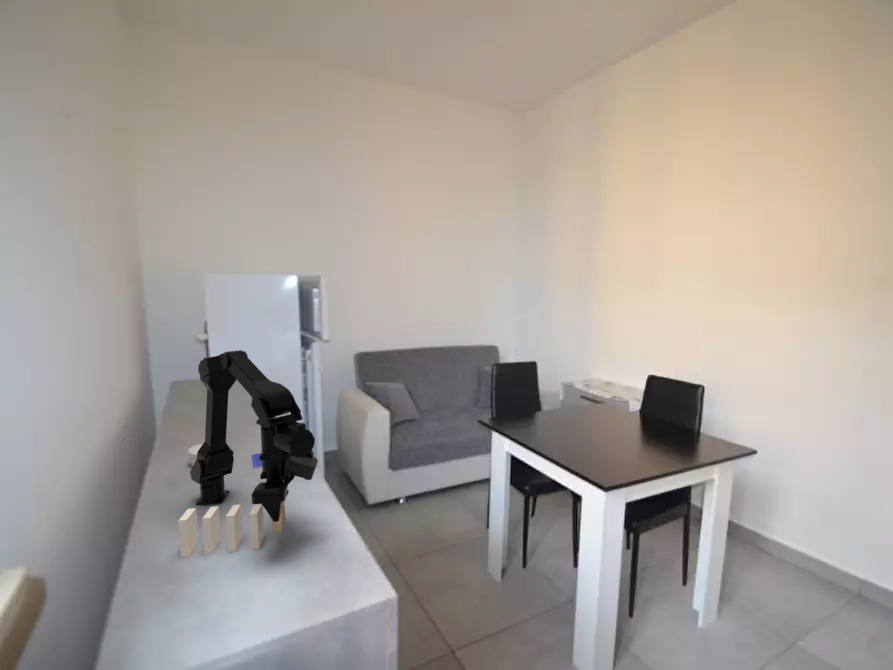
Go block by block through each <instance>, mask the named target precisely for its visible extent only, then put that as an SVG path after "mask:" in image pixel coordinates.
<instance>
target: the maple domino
mask: <svg viewBox="0 0 893 670" xmlns="http://www.w3.org/2000/svg"><path fill="white" fill-rule="evenodd" d="M285 502H286V500H285V501H283V502H282V503H281V510H280V516H279V521H277V522H273V521H272V532H273V533H281V532H282V529H283V526H284V524H285V521H286V506H285V505H286V504H285Z"/></svg>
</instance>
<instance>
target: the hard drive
mask: <svg viewBox="0 0 893 670" xmlns="http://www.w3.org/2000/svg"><path fill="white" fill-rule="evenodd" d="M261 453H262V452H261ZM261 453H253V454H252V455H251V462H253V463H252V467H253V471H254V470H255V471H257V470H256V469H261V470H262V461H260V458H259V456H260V454H261Z"/></svg>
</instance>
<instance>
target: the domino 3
mask: <svg viewBox="0 0 893 670" xmlns="http://www.w3.org/2000/svg"><path fill="white" fill-rule="evenodd" d="M242 517H243V516H242V504H233V505H232V507H230V510H229V511H228V513H227V514H226V516H225V521H226V536H227V537H226V539H227V540H226V541H227V553H235V552H237V550H238V549H239V546H240V545H241V542H242V541H243V522H242V520H243V518H242Z"/></svg>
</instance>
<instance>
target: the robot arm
mask: <svg viewBox="0 0 893 670" xmlns="http://www.w3.org/2000/svg"><path fill="white" fill-rule="evenodd" d="M197 370H198V373H199V380H200V381H201V383H202V384H203V385H204V387H205V388H206V409H205V410H206V412H205V428H204V429H205V430H204V431H205V432H204V433H205V435H204V442H203V443H202V444H203V445H202V446H201V447H200V449H199V450H198V452H197V459H196V462H195V463H194V465H193V466H192V467H191V469H190V470H189V474H190V479H191V481H193V482H195V483H197V484H198V485H199V488H200V490H199V492H200V497H199V498H198V500H197V501H196V502H195V505H197V506H200V505H210V504H211V505H213V504H221V503H224V501H225V499H226V498H227V497H228V495H229V494H230V490H225V489H226V487H225V476H226V475H231V474H233V466H234V450H233V449H231V447H230V446H229V445H228V443H227V431H228V430H227V429H228V428H227V425H228V411H229V410H228V409H229V407H228V406H229V393H230V392H229V391H230V390H231V388H233V386H234V385H235V383H236V381H238V383H239V384H240V385H241V386H242V387H243V389H244V390H245V391H246V392H247V393H248V394H249V396H250V397H251V405H250V406H251V408H252V409H253V411H254V413H255V415H256V416H257V418H258V419H257V420H256V421H255V424H256V425H259V426H260V440H261V441H260V444H261V445H260V446H261V454H260V456H259V458H260V461H262V469H261V470H262V471H261V473H260V474H259V476H260V480H265V482H259V483H258V484H257V485H256V486H255V488H254V489H253V491H252V493H251V504H253V505H254V504H262V505H263V509H264V510H265V511H266V512H267V514H268V515H269V517H270V518H271V520H272V523H273V522H277V521H279V516H280V510H281V503H282V502H283V501H285V502H286V498H287V496H288V494H289V491H290V490H288V488H289V487H288V486H289V484H290V483H291V482H292V481H293V480H294V478H295V477H297V478H303V479H304V480H307V481H311V480H312V479H313V477H314V473H315V470H316V468H317V465H318V459H317V457H315V453H314V450H313V449H314V447H315V443H316V442H315V436H314V434H313V433H312V431H310V430H309V429H307V427H306V423H304V422H298V421H303V416H302V414H301V413H302V410H301V408H300V407H299V405H298V403H297V402H296V400H295V397H294V395H293V393H292V392H291V390H289V389H288V388H287V387H286V386H284V385H283V384H282V383H279V382H275V381H272V380H270V379H269V378H268V377H267V376H266V375H265V374H264V373H263V372H262V371H261V370H260V368H259V367H257V366H256V365H255V364H254V362H253V361H252V360H251V359H250V358H249V357H248V353H247V352H246V351H245V350H242V349H241V350H240V349H239V350H238V349H237V350H231V351H224V352H223V353H221V354H219V355H216V356H208V357H204V358H203V359H201V360H200V362H199V364H198V367H197Z"/></svg>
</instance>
